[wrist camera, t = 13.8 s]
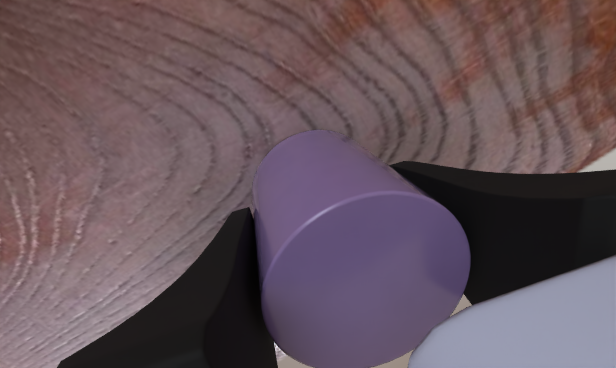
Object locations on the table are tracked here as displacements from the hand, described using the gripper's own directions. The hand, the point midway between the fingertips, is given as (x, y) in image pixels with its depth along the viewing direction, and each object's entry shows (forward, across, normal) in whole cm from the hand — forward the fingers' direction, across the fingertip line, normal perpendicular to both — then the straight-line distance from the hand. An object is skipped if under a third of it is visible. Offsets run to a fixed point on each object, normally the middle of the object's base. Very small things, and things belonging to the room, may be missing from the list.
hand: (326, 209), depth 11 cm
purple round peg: (+2, 0, 0) cm, 2 cm away
